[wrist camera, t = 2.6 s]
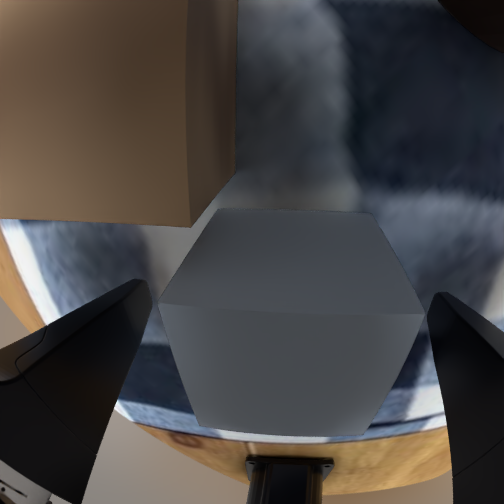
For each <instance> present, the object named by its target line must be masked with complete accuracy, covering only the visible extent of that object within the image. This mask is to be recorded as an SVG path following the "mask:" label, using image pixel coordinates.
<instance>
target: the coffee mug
mask: <svg viewBox="0 0 504 504" xmlns="http://www.w3.org/2000/svg"><path fill="white" fill-rule="evenodd" d="M438 1H439V2H440V3H441V4H442V6H443V7H444V8H445V9H446V10H447V11H448V12H449V13H450V14H451V15H452V16H453V17H454V18H455V19H456V20H457V21H458V22H459V23H461V24H462V25H463V26H464V27H465V28H467V29H468V30H469V31H470V32H471V33H472V34H473V35H475V36H476V37H477V38H479V39H480V40H482V41H483V42H485V43H486V44H487V45H489V46H490V47H492V48H494V49H496V50H498V51H500V52H502V53H504V0H438Z"/></svg>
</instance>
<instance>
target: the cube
mask: <svg viewBox="0 0 504 504" xmlns="http://www.w3.org/2000/svg"><path fill="white" fill-rule="evenodd" d="M157 304H158V308H159V311H160V315H161V318H162V322H163V325H164V328H165V332H166V335H167V338H168V341H169V344H170V347H171V350H172V354H173V357H174V359H175V362H176V365H177V368H178V371H179V374H180V377H181V380H182V382H183V385H184V388H185V391H186V393H187V396H188V398H189V401H190V404H191V406H192V409H193V411H194V414H195V416H196V419H197V421H198V424H199V426H202V427H208V428H214V429H221V430H228V431H236V432H244V433H254V434H266V435H280V436H308V437H329V436H356V435H364V433H365V431H366V430H367V428H368V427H369V425H370V424H371V422H372V420H373V419H374V417H375V415H376V414H377V412H378V410H379V409H380V407H381V405H382V404H383V402H384V400H385V398H386V397H387V395H388V393H389V391H390V389H391V388H392V386H393V384H394V382H395V380H396V378H397V376H398V374H399V372H400V370H401V368H402V366H403V364H404V362H405V360H406V358H407V356H408V354H409V352H410V349H411V347H412V345H413V343H414V341H415V338H416V336H417V334H418V331H419V329H420V327H421V324H422V322H423V319H424V317H425V311H424V309H423V307H422V305H421V303H420V301H419V299H418V297H417V295H416V293H415V291H414V289H413V287H412V285H411V283H410V281H409V279H408V277H407V275H406V273H405V271H404V269H403V267H402V266H401V264H400V262H399V260H398V258H397V256H396V255H395V253H394V251H393V249H392V247H391V246H390V244H389V242H388V240H387V239H386V237H385V235H384V234H383V232H382V230H381V229H380V227H379V225H378V224H377V222H376V220H375V219H374V217H373V215H372V214H371V213H355V212H337V211H314V210H286V209H236V208H218V209H217V211H216V212H215V214H214V215H213V217H212V218H211V220H210V221H209V223H208V224H207V226H206V227H205V229H204V230H203V231H202V233H201V235H200V236H199V238H198V239H197V241H196V242H195V244H194V245H193V247H192V248H191V250H190V251H189V253H188V254H187V256H186V257H185V259H184V261H183V262H182V264H181V265H180V267H179V268H178V270H177V271H176V273H175V275H174V276H173V278H172V279H171V281H170V283H169V284H168V286H167V287H166V289H165V291H164V292H163V294H162V295H161V297H160V299H159V300H158V302H157Z"/></svg>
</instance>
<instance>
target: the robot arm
mask: <svg viewBox="0 0 504 504" xmlns="http://www.w3.org/2000/svg"><path fill="white" fill-rule="evenodd" d="M151 309H152V298H151V294H150V291H149V287H148V284H147V282H146V281H145V280H143V279H132V280H131V281H129V282H127V283H125V284H123V285H121V286H119V287H117V288H115V289H113V290H111V291H109V292H108V293H106V294H104V295H102V296H100V297H98V298H96V299H94V300H92V301H91V302H89V303H87V304H85V305H83V306H81V307H79V308H77V309H76V310H74V311H72V312H70V313H68V314H66V315H65V316H63V317H61V318H59V319H57V320H55V321H54V322H52V323H50V324H49V325H48V326H47V325H46V326H44V327H43V328H41V329H39V330H37V331H35V332H34V333H32V334H30V335H28V336H26V337H24V338H22V339H20V340H18V341H16V342H14V343H12V344H10V345H8V346H6V347H4V348H2V349H0V504H52V502H51V501H49V499H50V497H51V494H54V495H56V496H58V497H60V498H62V499H64V500H66V501H68V502H70V503H72V504H81V503H82V500H83V496H84V494H85V490H86V487H87V484H88V480H89V477H90V474H91V471H92V468H93V465H94V462H95V459H96V456H97V455H96V454H97V453H98V450H99V447H100V444H101V441H102V439H103V436H104V433H105V431H106V428H107V425H108V423H109V420H110V417H111V414H112V412H113V409H114V407H115V404H116V402H117V399H118V397H119V394H120V392H121V389H122V387H123V384H124V382H125V379H126V377H127V374H128V372H129V370H130V367H131V365H132V363H133V360H134V358H135V356H136V353H137V351H138V348H139V346H140V343H141V340H142V337H143V334H144V330H145V327H146V324H147V321H148V318H149V315H150V312H151ZM427 322H428V327H429V333H430V339H431V345H432V351H433V358H434V363H435V367H436V371H437V376H438V380H439V385H440V389H441V394H442V399H443V405H444V410H445V416H446V422H447V429H448V436H449V444H450V453H451V463H452V476H453V478H452V480H453V504H504V332H503V331H501V330H500V329H499V328H497V327H496V326H495V325H493V324H492V323H491V322H489V321H488V320H487V319H485V318H484V317H483V316H481V315H480V314H478V313H477V312H476V311H474V310H473V309H471V308H470V307H469V306H467V305H466V304H464V303H463V302H462V301H460V300H459V299H457V298H456V297H454V296H453V295H451V294H450V293H448V292H437V293H436V294H435V295H434V297H433V300H432V303H431V305H430V308H429V311H428V314H427ZM245 465H246V470H247V476H248V480H249V481H250V486H249V492H248V498H247V503H246V504H322V487H323V481H324V480H325V478H326V477H327V476H328V474H329V473H330V471H331V470H332V469H333V467H334V460H292V459H274V458H261V457H246V461H245Z"/></svg>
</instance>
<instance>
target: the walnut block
mask: <svg viewBox="0 0 504 504" xmlns="http://www.w3.org/2000/svg"><path fill="white" fill-rule="evenodd" d="M237 17H238V0H0V219H27V220H55V221H80V222H101V223H121V224H139V225H157V226H173V227H189V228H191V227H192V226H193V224H194V223H195V222H196V221H197V219H198V218H199V217H200V216H201V214H202V213H203V212H204V210H205V209H206V208H207V207H208V205H209V204H210V203H211V202H212V200H213V199H214V198H215V197H216V195H217V194H218V193H219V192H220V191H221V189H222V188H223V187H224V186H225V184H226V183H227V182H228V181H229V180H230V178H231V177H232V176H233V175H234V174H235V125H236V57H237Z"/></svg>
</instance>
